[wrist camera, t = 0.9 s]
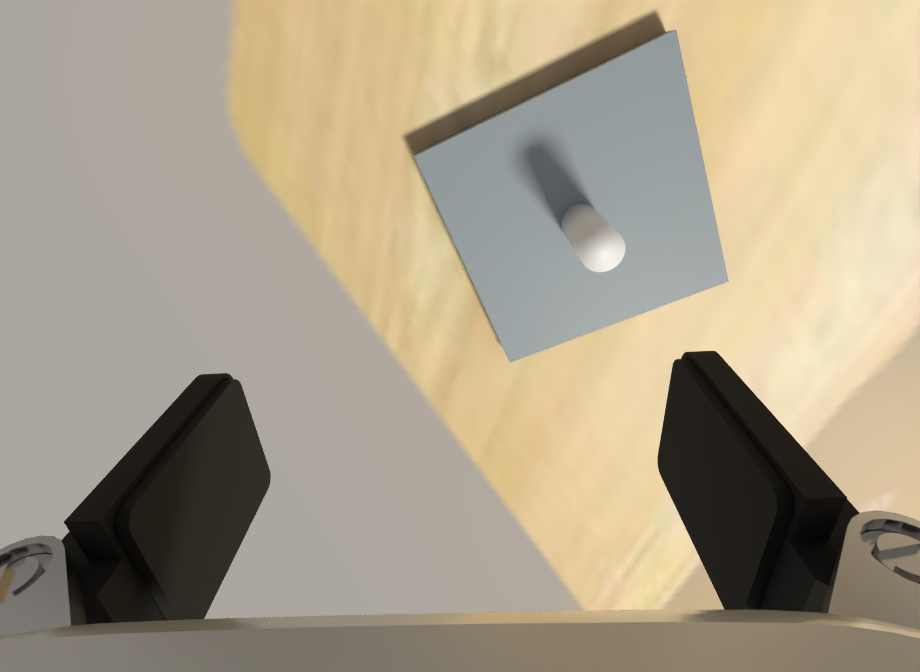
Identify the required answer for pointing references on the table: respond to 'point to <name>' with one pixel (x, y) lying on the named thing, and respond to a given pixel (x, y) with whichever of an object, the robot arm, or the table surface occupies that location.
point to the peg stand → (582, 201)
